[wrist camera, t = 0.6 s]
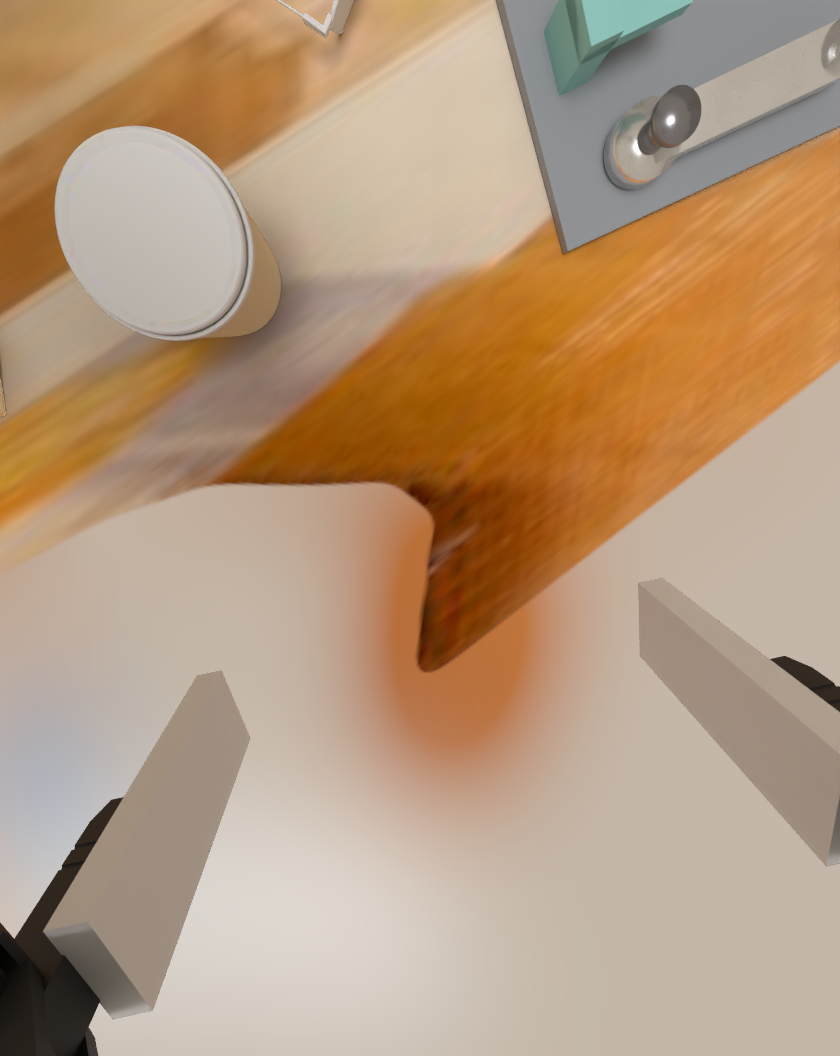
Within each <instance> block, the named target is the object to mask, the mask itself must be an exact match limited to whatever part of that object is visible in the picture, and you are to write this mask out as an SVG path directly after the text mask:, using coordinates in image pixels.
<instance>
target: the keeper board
mask: <svg viewBox="0 0 840 1056" xmlns="http://www.w3.org/2000/svg"><path fill="white" fill-rule="evenodd" d="M496 2H497V6H498V9H499V13H500V17H501V21H502V25H503V28H504V32H505V36H506V40H507V44H508V47H509V51H510V55H511V59H512V63H513V66H514V70H515V74H516V78H517V82H518V85H519V89H520V93H521V97H522V101H523V104H524V108H525V112H526V116H527V120H528V123H529V127H530V131H531V135H532V139H533V142H534V146H535V150H536V154H537V158H538V161H539V165H540V169H541V173H542V177H543V180H544V184H545V188H546V192H547V196H548V199H549V203H550V207H551V211H552V215H553V218H554V222H555V226H556V230H557V234H558V237H559V241H560V245H561V249H562V253H563V254H565V253H567V252H569V251H571V250H573V249H575V248H577V247H580V246H582V245H584V244H586V243H588V242H590V241H593V240H595V239H597V238H599V237H601V236H603V235H606V234H608V233H610V232H612V231H614V230H616V229H619V228H621V227H623V226H625V225H627V224H629V223H632V222H634V221H636V220H638V219H640V218H642V217H645V216H647V215H649V214H651V213H653V212H655V211H658V210H660V209H662V208H664V207H666V206H668V205H670V204H673V203H675V202H677V201H679V200H681V199H683V198H686V197H688V196H690V195H692V194H694V193H696V192H699V191H701V190H703V189H705V188H707V187H709V186H712V185H714V184H716V183H718V182H720V181H722V180H725V179H727V178H729V177H731V176H733V175H735V174H738V173H740V172H742V171H744V170H746V169H748V168H751V167H753V166H755V165H757V164H759V163H761V162H763V161H766V160H768V159H770V158H772V157H774V156H776V155H779V154H781V153H783V152H785V151H787V150H789V149H792V148H794V147H796V146H798V145H800V144H802V143H805V142H807V141H809V140H811V139H813V138H815V137H818V136H820V135H822V134H824V133H826V132H828V131H831V130H833V129H835V128H837V127H839V126H840V79H838V80H837V81H835V82H834V83H832V84H830V85H829V86H827V87H826V88H824V89H822V90H821V91H819V92H817V93H815V94H813V95H811V96H809V97H807V98H804V99H802V100H800V101H798V102H796V103H794V104H792V105H790V106H787V107H785V108H783V109H781V110H779V111H777V112H775V113H773V114H770V115H768V116H766V117H764V118H762V119H760V120H758V121H755V122H753V123H751V124H749V125H747V126H745V127H743V128H741V129H738V130H736V131H734V132H732V133H730V134H728V135H726V136H723V137H721V138H719V139H717V140H715V141H713V142H711V143H709V144H706V145H704V146H702V147H700V148H698V149H696V150H694V151H691V152H689V153H687V154H685V155H683V156H681V157H679V158H677V159H675V160H674V162H673V163H672V164H671V166H670V167H669V168H668V169H667V170H666V171H665V172H663V173H662V174H660V175H659V176H657V177H656V178H655V179H653V180H652V181H650V182H649V183H647V184H646V185H644V186H642V187H640V188H638V189H632V190H628V189H623V188H620V187H618V186H617V185H615V184H614V183H613V182H612V181H611V179H610V178H609V176H608V174H607V172H606V169H605V165H604V148H605V143H606V140H607V137H608V135H609V133H610V131H611V130H612V128H613V127H614V126H615V124H616V123H617V122H618V121H619V120H620V119H621V118H622V117H623V116H624V115H625V114H626V113H627V112H628V111H629V110H630V109H631V108H632V107H633V106H634V105H635V104H636V103H637V102H639V101H640V100H642V99H644V98H647V97H651V96H660V97H662V96H663V95H664V94H665V93H666V92H667V91H668V90H670V89H671V88H673V87H675V86H677V85H688V86H690V87H692V88H693V89H694V88H696V87H698V86H700V85H702V84H704V83H707V82H709V81H711V80H713V79H715V78H717V77H719V76H721V75H723V74H725V73H727V72H730V71H732V70H734V69H736V68H738V67H740V66H742V65H744V64H746V63H748V62H750V61H753V60H755V59H757V58H759V57H761V56H763V55H765V54H767V53H769V52H771V51H773V50H775V49H778V48H780V47H782V46H784V45H786V44H788V43H790V42H792V41H794V40H796V39H798V38H801V37H803V36H805V35H807V34H809V33H811V32H813V31H815V30H817V29H819V28H821V27H824V26H826V25H828V24H830V23H832V22H834V21H836V20H838V19H840V0H496Z"/></svg>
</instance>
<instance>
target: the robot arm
mask: <svg viewBox="0 0 840 1056" xmlns="http://www.w3.org/2000/svg"><path fill="white" fill-rule="evenodd" d="M638 593H639V594H638V595H639V638H640V657H641V658H642V659H643V660H644V661H645V662H646V663H647V665H648V666H649V667H650V668H651V669H652V670H653V671H654V672H655V674H656V675H657V676H658V677H659V678H660V679H661V680H662V681H663V683H664V684H665V685H666V686H667V687H668V688H669V689H670V691H671V692H672V693H673V694H674V695H675V696H676V697H677V698H678V699H679V701H680V702H681V703H682V704H683V705H684V706H685V707H686V708H687V710H688V711H689V712H690V713H691V714H692V715H693V717H694V718H695V719H696V720H697V721H698V722H699V723H700V724H701V725H702V727H703V728H704V729H705V730H706V731H707V732H708V733H709V735H710V736H711V737H712V738H713V739H714V740H715V741H716V742H717V743H718V745H719V746H720V747H721V748H722V749H723V750H724V752H725V753H726V754H727V755H728V756H729V757H730V758H731V759H732V760H733V762H734V763H735V764H736V765H737V766H738V767H739V768H740V769H741V771H742V772H743V773H744V774H745V775H746V776H747V777H748V779H749V780H750V781H751V782H752V783H753V784H754V785H755V787H756V788H757V789H758V790H759V791H760V792H761V793H762V794H763V795H764V797H765V798H766V799H767V800H768V801H769V802H770V803H771V804H772V806H773V807H774V808H775V809H776V810H777V811H778V812H779V814H780V815H781V816H782V817H783V818H784V819H785V820H786V821H787V823H788V824H789V825H790V826H791V827H792V828H793V829H794V831H796V833H797V834H798V835H799V836H800V837H801V838H802V840H803V841H804V842H805V843H806V844H807V845H808V846H809V847H810V848H811V850H812V851H813V852H814V853H815V854H816V855H817V857H818V858H819V859H820V860H821V861H822V862H823V863H824V864H825V866H830V865H835V864H839V863H840V687H839V686H838V687H836V686H835V684H834V683H833V682H832V681H830V680H829V679H828V678H826V677H825V676H823V675H822V674H821V673H819V672H818V671H816V670H815V669H813V668H812V667H810V666H807V665H805V664H803V663H800V662H798V661H795V660H793V659H791V658H789V657H786V656H782V657H778V658H773V659H769V658H767V657H766V656H765V655H763V654H762V653H761V652H760V651H758V650H757V649H755V648H754V647H753V646H752V645H750V644H749V643H747V642H746V641H745V640H744V639H742V638H741V637H740V636H738V635H737V634H736V633H734V632H733V631H732V630H730V629H729V628H728V627H726V626H725V625H724V624H723V623H721V622H720V621H719V620H717V619H716V618H715V617H713V616H712V615H711V614H709V613H708V612H707V611H705V610H704V609H702V608H701V607H700V606H699V605H697V604H696V603H695V602H694V601H692V600H691V599H690V598H688V597H687V596H686V595H684V594H683V593H682V592H680V591H679V590H678V589H676V588H675V587H674V586H672V585H671V584H670V583H668V582H667V581H665V579H663V578H660V579H654V580H650V581H646V582H640V583H638ZM249 741H250V736H249V734H248V732H247V729H246V727H245V725H244V722H243V720H242V717H241V715H240V713H239V710H238V708H237V706H236V703H235V701H234V699H233V696H232V694H231V692H230V689H229V687H228V684H227V682H226V680H225V677H224V675H223V673H222V671H217V672H212V673H208V674H202V675H198V676H197V677H196V678H195V680H194V682H193V683H192V685H191V687H190V688H189V690H188V692H187V693H186V695H185V696H184V698H183V700H182V702H181V703H180V705H179V706H178V708H177V710H176V712H175V713H174V715H173V716H172V718H171V720H170V721H169V723H168V725H167V726H166V728H165V730H164V731H163V733H162V735H161V736H160V738H159V740H158V741H157V743H156V745H155V746H154V748H153V750H152V751H151V753H150V755H149V756H148V758H147V760H146V761H145V763H144V765H143V766H142V768H141V769H140V771H139V773H138V775H137V776H136V778H135V779H134V781H133V783H132V784H131V786H130V788H129V789H128V791H127V793H126V794H125V796H124V797H123V798H118V799H113V800H111V801H110V802H109V803H108V804H107V805H106V806H105V807H104V808H103V809H102V810H101V811H100V812H99V813H98V814H97V815H96V816H95V817H94V818H93V819H92V820H91V821H90V823H89V824H88V826H87V827H86V829H85V830H84V832H83V834H82V835H81V837H80V838H79V840H78V841H77V843H76V844H75V849H74V850H72V851H71V852H70V854H69V855H68V857H67V858H66V860H65V861H64V863H63V865H62V869H61V870H59V871H58V872H57V874H56V875H55V877H54V879H53V880H52V882H51V883H50V885H49V886H48V888H47V889H46V891H45V893H44V894H43V896H42V897H41V899H40V900H39V902H38V903H37V905H36V906H35V908H34V909H33V911H32V913H31V914H30V916H29V917H28V919H27V921H26V922H25V924H24V925H23V927H22V928H21V930H20V931H19V933H18V934H17V936H16V937H15V939H14V938H13V937H12V936H11V935H10V934H9V932H8V931H7V930H6V929H5V928H4V926H3V925H2V924H1V923H0V1056H98V1052H97V1047H96V1041H95V1037H94V1036H93V1034H92V1032H91V1030H90V1029H89V1024H90V1022H91V1020H92V1018H93V1016H94V1013H95V1011H96V1009H97V1007H98V1004H99V1003H100V1004H101V1005H102V1006H103V1008H104V1009H105V1010H106V1011H107V1012H108V1014H109V1015H110V1016H111V1017H112V1019H117V1018H122V1017H126V1016H131V1015H136V1014H140V1013H145V1012H150V1011H152V1010H153V1008H154V1005H155V1003H156V1000H157V997H158V994H159V991H160V989H161V986H162V983H163V980H164V978H165V975H166V972H167V969H168V967H169V964H170V961H171V958H172V955H173V953H174V950H175V947H176V944H177V941H178V939H179V936H180V933H181V930H182V928H183V925H184V922H185V919H186V916H187V914H188V911H189V908H190V905H191V902H192V900H193V896H194V894H195V891H196V888H197V886H198V883H199V880H200V877H201V875H202V872H203V869H204V866H205V863H206V860H207V858H208V855H209V852H210V849H211V847H212V844H213V841H214V838H215V835H216V833H217V830H218V827H219V824H220V821H221V819H222V816H223V813H224V810H225V808H226V805H227V802H228V799H229V796H230V794H231V791H232V788H233V785H234V782H235V780H236V777H237V774H238V771H239V768H240V766H241V762H242V760H243V757H244V754H245V752H246V749H247V746H248V743H249Z"/></svg>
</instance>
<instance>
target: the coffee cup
mask: <svg viewBox="0 0 840 1056" xmlns="http://www.w3.org/2000/svg"><path fill="white" fill-rule="evenodd" d="M55 222H56V228H57V234H58V237H59V241H60V244H61V247H62V250H63V253H64V256H65V258H66V260H67V262H68V264H69V266H70V268H71V270H72V271H73V273H74V275H75V277H76V278H77V280H78V281H79V283H80V284H81V285H82V287H83V288H84V290H85V291H86V292H87V294H88V295H89V296H90V297H91V298H92V300H93V301H94V302H95V303H96V304H97V305H98V306H99V307H100V308H101V309H102V310H104V311H105V312H106V313H107V314H108V315H109V316H111V317H112V318H113V319H115V320H116V321H118V322H119V323H121V324H122V325H124V326H126V327H128V328H130V329H132V330H134V331H136V332H138V333H141V334H143V335H146V336H149V337H153V338H157V339H162V340H169V341H184V340H192V339H197V338H214V337H233V336H242V335H246V334H250V333H253V332H255V331H257V330H259V329H261V328H262V327H263V326H264V325H266V324H267V323H268V322H269V321H270V319H271V318H272V317H273V315H274V313H275V311H276V309H277V307H278V304H279V301H280V296H281V276H280V271H279V267H278V264H277V261H276V259H275V256H274V255H273V253H272V251H271V249H270V247H269V245H268V244H267V242H266V240H265V239H264V237H263V236H262V234H261V232H260V231H259V229H258V228H257V226H256V225H255V223H254V222H253V220H252V218H251V217H250V215H249V214H248V212H247V211H246V209H245V208H244V206H243V204H242V202H241V200H240V198H239V196H238V194H237V192H236V190H235V189H234V187H233V186H232V184H231V183H230V181H229V180H228V178H227V177H226V176H225V175H224V173H223V172H222V171H221V169H220V168H219V167H218V166H217V165H216V164H215V163H214V162H213V161H212V160H211V159H210V158H209V157H208V156H206V155H205V154H204V153H203V152H202V151H200V150H199V149H198V148H196V147H195V146H193V145H192V144H191V143H189V142H187V141H185V140H184V139H182V138H180V137H178V136H176V135H174V134H171V133H169V132H166V131H163V130H160V129H156V128H151V127H145V126H123V127H118V128H113V129H108V130H105V131H102V132H100V133H97V134H95V135H93V136H91V137H90V138H88V139H87V140H86V141H84V142H83V143H82V144H81V145H80V146H79V147H77V148H76V149H75V150H74V152H73V153H72V154H71V156H70V157H69V158H68V160H67V162H66V164H65V165H64V167H63V169H62V172H61V174H60V177H59V180H58V184H57V188H56V195H55Z"/></svg>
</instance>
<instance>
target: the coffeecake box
mask: <svg viewBox="0 0 840 1056" xmlns="http://www.w3.org/2000/svg"><path fill="white" fill-rule="evenodd" d="M1 416H3V417H4V416H6V411H5V402H4V394H3V387H2V383H1V378H0V417H1Z"/></svg>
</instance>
